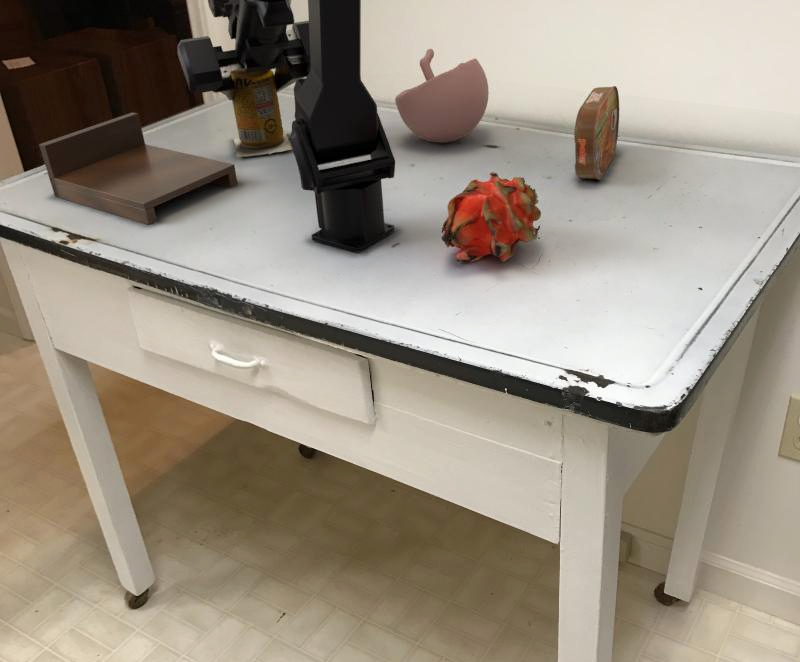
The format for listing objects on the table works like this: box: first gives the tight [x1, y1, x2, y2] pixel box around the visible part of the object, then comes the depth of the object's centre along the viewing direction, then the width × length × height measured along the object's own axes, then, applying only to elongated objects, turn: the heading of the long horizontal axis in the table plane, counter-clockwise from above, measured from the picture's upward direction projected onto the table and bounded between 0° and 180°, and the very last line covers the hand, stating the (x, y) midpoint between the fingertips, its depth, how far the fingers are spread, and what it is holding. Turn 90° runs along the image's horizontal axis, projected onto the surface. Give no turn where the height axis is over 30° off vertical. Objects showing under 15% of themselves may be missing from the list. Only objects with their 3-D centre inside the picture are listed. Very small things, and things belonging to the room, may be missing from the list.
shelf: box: [39, 112, 239, 225], centre depth 103 cm, size 18×14×6 cm
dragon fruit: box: [441, 171, 542, 263], centre depth 83 cm, size 8×8×12 cm
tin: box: [573, 85, 620, 181], centre depth 100 cm, size 15×3×8 cm, turn 158°
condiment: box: [231, 69, 293, 158], centre depth 113 cm, size 7×8×12 cm
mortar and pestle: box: [394, 48, 490, 144], centre depth 111 cm, size 12×12×12 cm
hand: (253, 93), depth 114 cm, fingers closed on condiment, 6 cm apart
